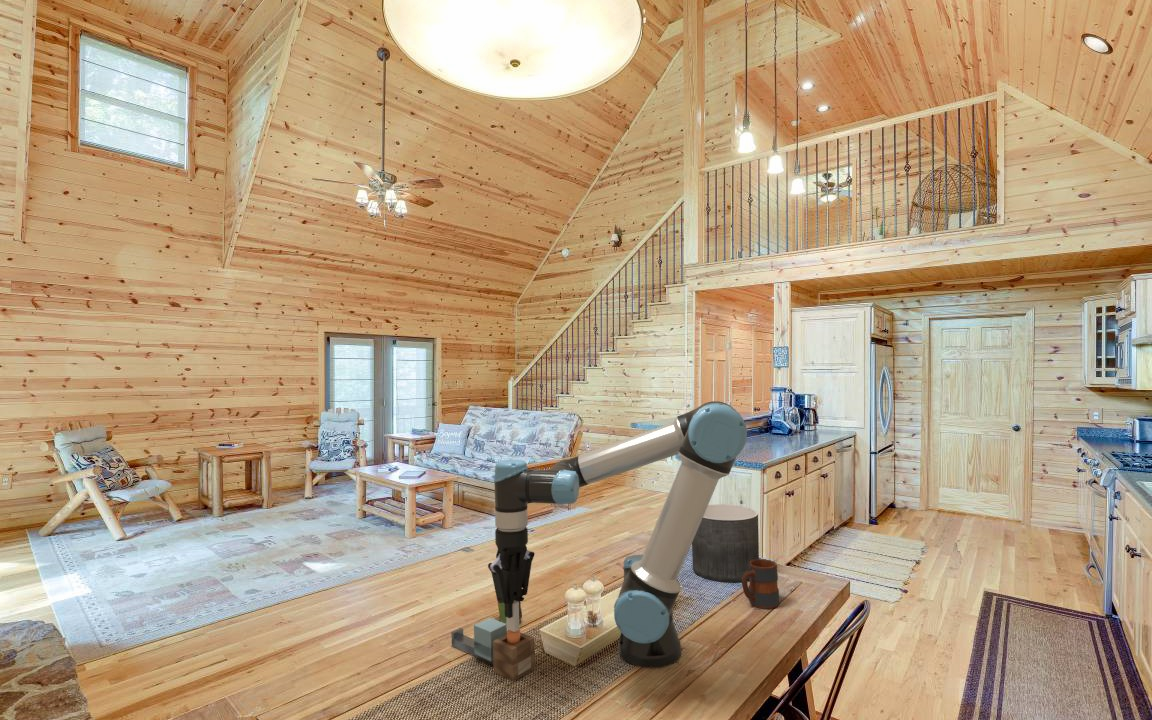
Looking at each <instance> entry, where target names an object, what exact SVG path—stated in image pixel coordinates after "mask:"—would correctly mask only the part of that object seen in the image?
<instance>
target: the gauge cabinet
mask: <svg viewBox="0 0 1152 720" xmlns="http://www.w3.org/2000/svg"><path fill="white" fill-rule="evenodd" d="M535 647H536V646H535V637H533V636H530V635H528V634H526V633H523V632H520V642H518V643H516V644H514V645H513V646H512V645H510V644H507V635H505V636H503V637H501V638H499V639H497V640H495V641H493V665H492V666H493V673H494V674H498V675H499V676H502V677H504V678H506V679H507V680H510V681H512V682H514V681H516V680H518V679H519V678H521V677H523V676H525V675H526V674H528V673H530V672H532V671H533V670H534V669H536V656H535V655H536V652H535V651H536V650H535Z"/></svg>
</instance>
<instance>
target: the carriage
mask: <svg viewBox="0 0 1152 720" xmlns="http://www.w3.org/2000/svg"><path fill="white" fill-rule="evenodd" d="M507 630H508V629H507V624H505V623H503V622H501V621H499V620H497V619H494V618H493V617H489V618H486V619H485V620H482V621H479V622H478V623H475V624H474V625H473V639H474V654H476V655H478V656H481V657H483V658H485V659H487V660H489V661H493V641H495V640H497V639H499V638H501V637H503V636H505V635H507Z"/></svg>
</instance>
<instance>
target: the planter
mask: <svg viewBox="0 0 1152 720" xmlns="http://www.w3.org/2000/svg"><path fill="white" fill-rule="evenodd" d="M759 536H760V535H759V512H758V511H757V510H755V509H753V508H751V507H747V506H742V505H735V504H727V503H726V504H724V503H723V504H722V503H721V504H719V503H717V504H716V503H715V504H713V503H712V504H708V506H707V509H706V511H705V514H704V516H703V518H702V521H701V523H700V525H699V528H698V530H697V533H696V535H695V537H694V540H693V542H692V544H691V557H692V559H691V560H692V571H693V573H694V574H696V575H697V576H699V577H701V578H704V579H707V580H709V581H716V582H722V583H740V582H741V583H742V576H743V574H744V573H745V572H748V571H749V563H750V561H752V560H757V559H760V543H759V542H760V541H759V540H760V538H759ZM749 579H750V578H749V577H748V578H747V582H748V581H750V580H749Z"/></svg>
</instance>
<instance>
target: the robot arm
mask: <svg viewBox="0 0 1152 720" xmlns="http://www.w3.org/2000/svg"><path fill="white" fill-rule="evenodd" d="M747 430H748V429H747V426H746V422H745V420H744V418H743V417H742V415H741V414H740V413H739V412H738V410H736V409H735V408H734V407H733V406H731V405H730V404H729V403H725V402H723V401H719V400H718V401H715V400H713V401H708V402H705V403H703V404H701V405H700V406H697V407H696V408H694V409H691V410H690V411H687V412H686V413H683V414H680V415H677V416H676V417H675V418H674V420H673V422H671V423H668V424H664V425H662V426H659V427H657V428H656V427H655V428H653V429H650V430H647V431H644V432H641V433H639V434H636V435H633V436H630V437H627V438H624V439H621V440H619V441H616V442H612V443H611V444H608V445H605V446H602V447H600V448H599V447H598V448H596V449H593V450H591V451H588V452H585V453H582V454H579V455H577V456H574V457H571V458H565V459H561V460H559V461H558V462H557V463H555V464H554V465H553V466H552V467H550V468H549V469H531V468H530V469H529V468H528V463H527V462H526V460H523V459H517V458H514V459H513V458H512V459H505V460H500V461H497V463H496V464H495V467H494V480H493V483H494V504H495V505H494V510H495V511H494V519H495V520H494V522H495V527H496V529H495V533H494V535H495V537H494V538H495V539H494V541H495V545H496V548H497V552H496V555H495V560H494V561H493V562H489V563H488V565H487V568H488V569H489V571H490V572H491V576H492V577H491V578H492V580H493V582H492V583H493V586H494V591H495V597H496V602H498V601H499V602H502V603H504V604H505V617H506V623H507V630H510V631H513V632H516V631H518V630H519V629H520V620H519V613H520V611H521V612H522V607H520V606H521V602H523V601H524V600H525V597H524V596H526V595H527V594H528V590H529V582H530V577H531V576H530V575H531V568H532V562H533V560H534V557H535V552H534V551H531V550H529V549H528V548H527V545H528V542H529V538H528V537H529V533H528V531H529V529H528V527H527V526H528V525H529V520H528V504H532V503H533V504H551V505H552V504H555V505H561V506H563V505H566V504H567V505H573V504H575V503H576V502H577V500H578V497H579V493H580V488H582V487H586V486H588V485H590V484H594V483H596V482H599V481H602V480H604V479H605V480H606V479H609V478H612V477H614V476H617V475H618V476H619V475H620V474H624V473H625V472H629V471H633V470H635V469H638V468H641V467H644V466H647V465H650V464H653V463H656V462H660V461H661V460H662V461H663V460H665V459H668V458H670V457H674V456H677V455H679V458H680V460H681V463H680V466H679V468H678V471H677V473H676V475H675V478H674V480H673V482H672V484H671V488H670V489H669V491H668V495H667V496H666V498H665V499H666V500H665V502H664V504H663V506H662V509H661V511H660V514H659V516H658V518H657V521H656V523H655V526H654V528H653V530H652V533H651V534H650V537H649V540H648V542H647V545H646V547H645V550H644V553H643V554H633V555H629V556H627V557H626V558H624V560H623V567H622V569H623V582H622V585H621V587H620V590H619V593H618V596H617V599H616V600H615V603H614V606H613V608H614V609H613V617H614V621H615V625H616V626H617V629H618V630H619V631H620V634H619V639H618V646H617V647H618V655H619V656H620V658H621V659H622V660H623V661H625V662H626V663H628V664H631V665H633V666H636V667H643V668H653V669H654V668H655V669H656V668H663V667H667V666H670V665H673V664H675V663H676V662H678V661H679V660H680V658H681V656H682V643H681V641H680V639H679V635H678V631H677V629H676V626H675V623H674V618H673V617H674V616H673V615H674V614H673V613H674V611H673V610H674V609H673V608H674V605H675V603H676V601H677V598H678V596H679V594H680V591H681V589H682V588H681V587H682V586H681V584H680V582H679V579H678V577H679V575H680V572H681V570H682V568H683V565H684V563H685V562H686V559H687V556H688V553H689V551H690V549H691V548H692V542H693V540H694V537H695V535H696V533H697V530H698V528H699V525H700V523H701V521H702V518H703V516H704V514H705V511H706V509H707V506H708V505H710V502H711V499H712V497H713V494H714V492H715V489H716V488H717V485H718V483H719V480H720V479H721V478H724V477H726V476H729V475H730V472H731V470H732V468H733V466H734V464H735V461H736V459H737V457H738V456H739V454H741V453H742V451H743V450H744V448H745V447H746V443H747V439H748V438H747V437H748V431H747Z"/></svg>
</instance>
